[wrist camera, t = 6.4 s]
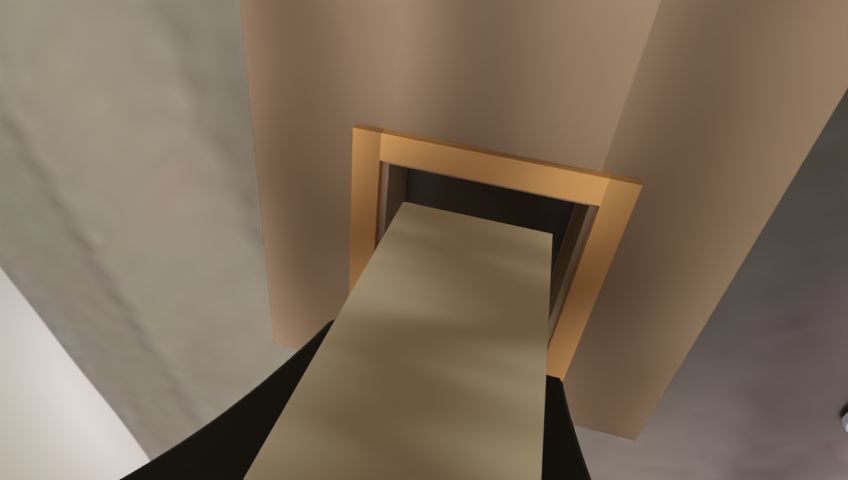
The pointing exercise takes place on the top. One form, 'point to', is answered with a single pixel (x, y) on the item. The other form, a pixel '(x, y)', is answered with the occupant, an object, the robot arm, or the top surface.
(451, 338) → the peg
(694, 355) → the top surface
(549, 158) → the wooden peg tray
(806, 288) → the top surface
